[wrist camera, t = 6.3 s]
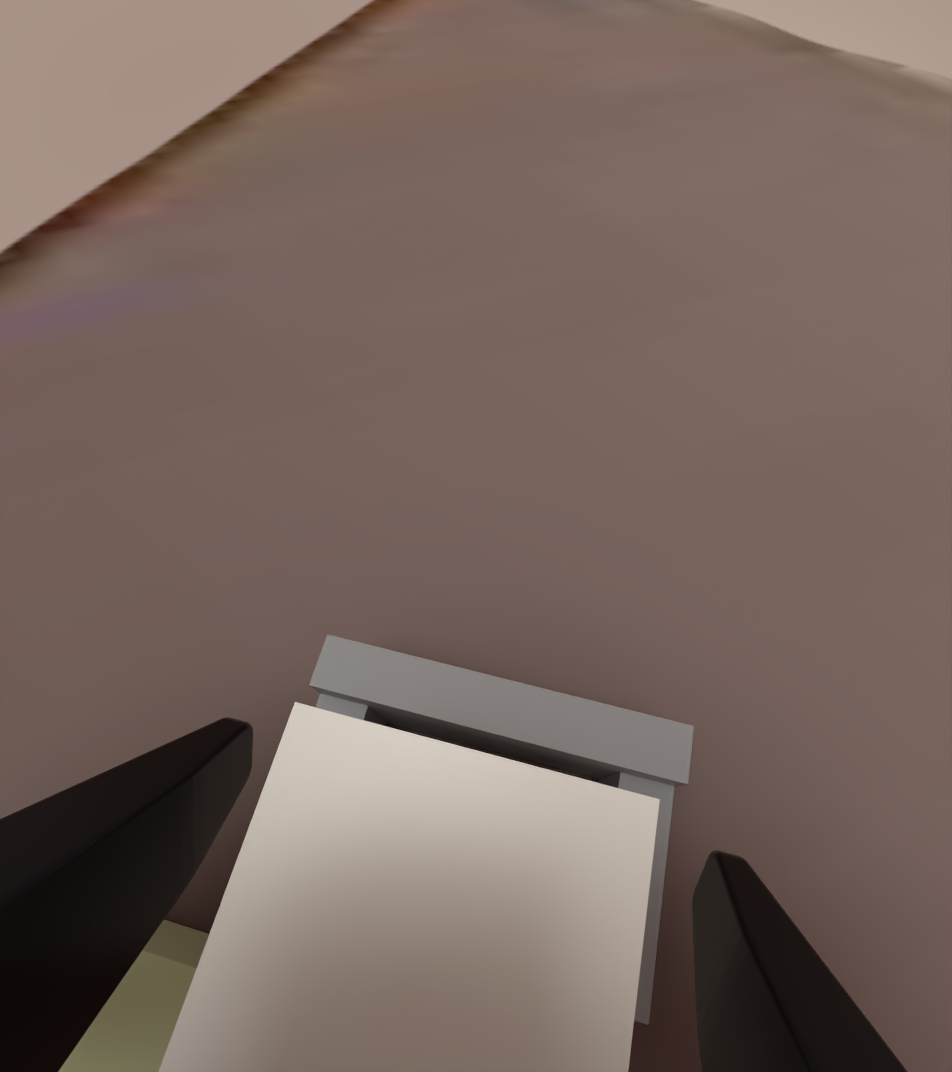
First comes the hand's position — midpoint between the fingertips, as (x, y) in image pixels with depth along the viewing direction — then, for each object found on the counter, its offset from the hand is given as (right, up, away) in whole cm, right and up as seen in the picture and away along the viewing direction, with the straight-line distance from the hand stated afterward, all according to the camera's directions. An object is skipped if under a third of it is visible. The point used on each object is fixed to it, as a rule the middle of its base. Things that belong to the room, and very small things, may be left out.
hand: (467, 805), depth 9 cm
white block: (0, -5, +7) cm, 8 cm away
